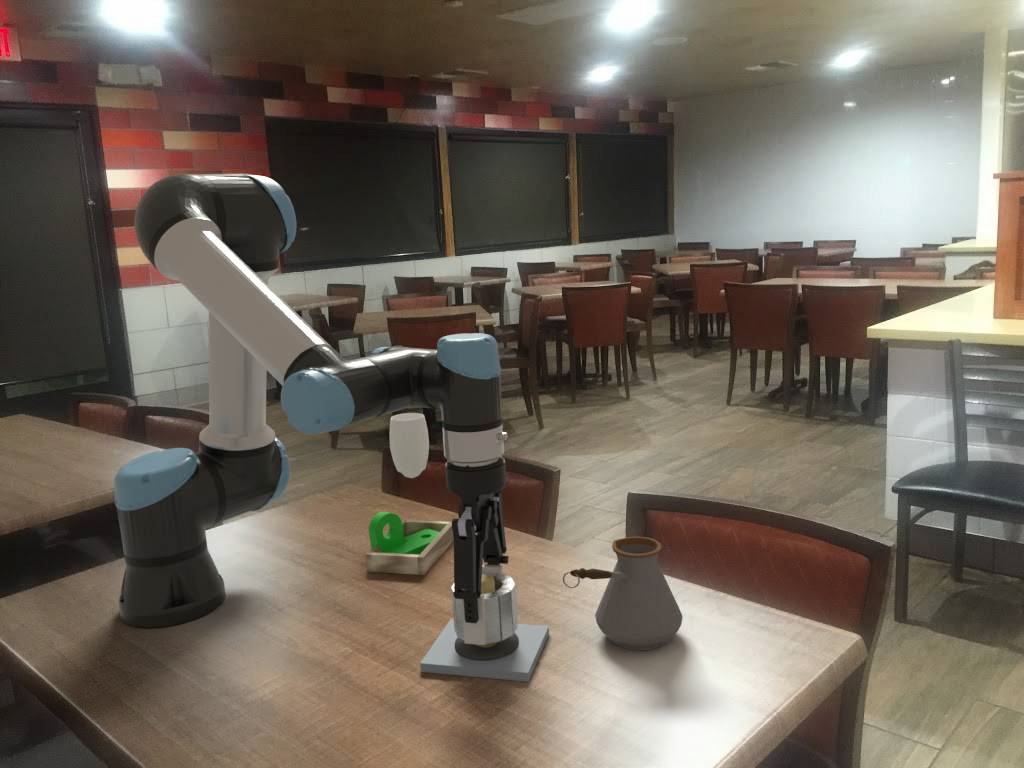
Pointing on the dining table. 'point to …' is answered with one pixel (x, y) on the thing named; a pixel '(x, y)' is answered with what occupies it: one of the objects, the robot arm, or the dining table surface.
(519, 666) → the square base plate
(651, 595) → the coffee pot
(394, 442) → the white rounded tapered piece
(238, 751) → the dining table surface
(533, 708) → the dining table surface
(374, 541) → the mechanical part
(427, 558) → the parts corral
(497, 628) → the ring
